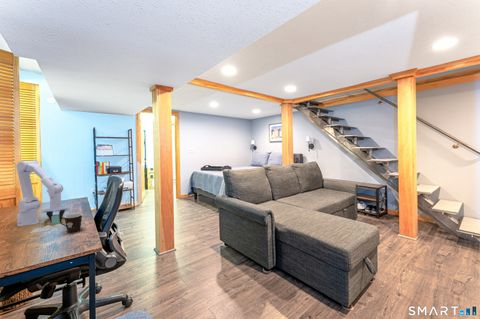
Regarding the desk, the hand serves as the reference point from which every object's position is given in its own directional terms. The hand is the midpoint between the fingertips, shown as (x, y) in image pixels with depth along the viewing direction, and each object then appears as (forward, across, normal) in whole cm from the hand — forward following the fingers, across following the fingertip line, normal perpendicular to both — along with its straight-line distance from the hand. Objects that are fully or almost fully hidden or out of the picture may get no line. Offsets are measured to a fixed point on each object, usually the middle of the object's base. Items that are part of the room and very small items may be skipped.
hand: (56, 221), depth 142 cm
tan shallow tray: (+2, 0, 0) cm, 2 cm away
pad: (+2, -5, -10) cm, 11 cm away
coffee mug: (+2, +12, -21) cm, 24 cm away
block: (+1, 0, 0) cm, 1 cm away
